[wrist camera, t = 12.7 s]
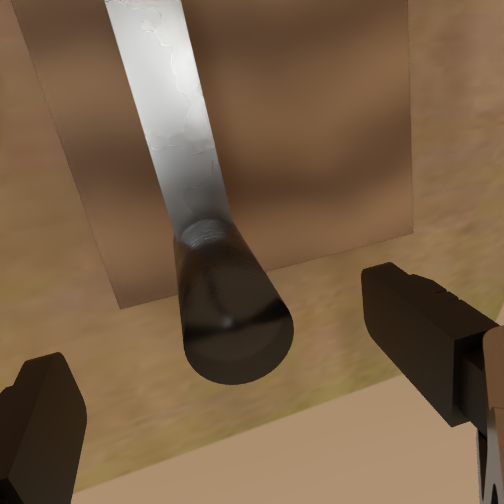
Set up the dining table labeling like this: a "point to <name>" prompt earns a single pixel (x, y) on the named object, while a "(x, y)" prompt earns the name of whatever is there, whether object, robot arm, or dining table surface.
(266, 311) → the lever
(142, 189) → the board
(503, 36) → the dining table surface
